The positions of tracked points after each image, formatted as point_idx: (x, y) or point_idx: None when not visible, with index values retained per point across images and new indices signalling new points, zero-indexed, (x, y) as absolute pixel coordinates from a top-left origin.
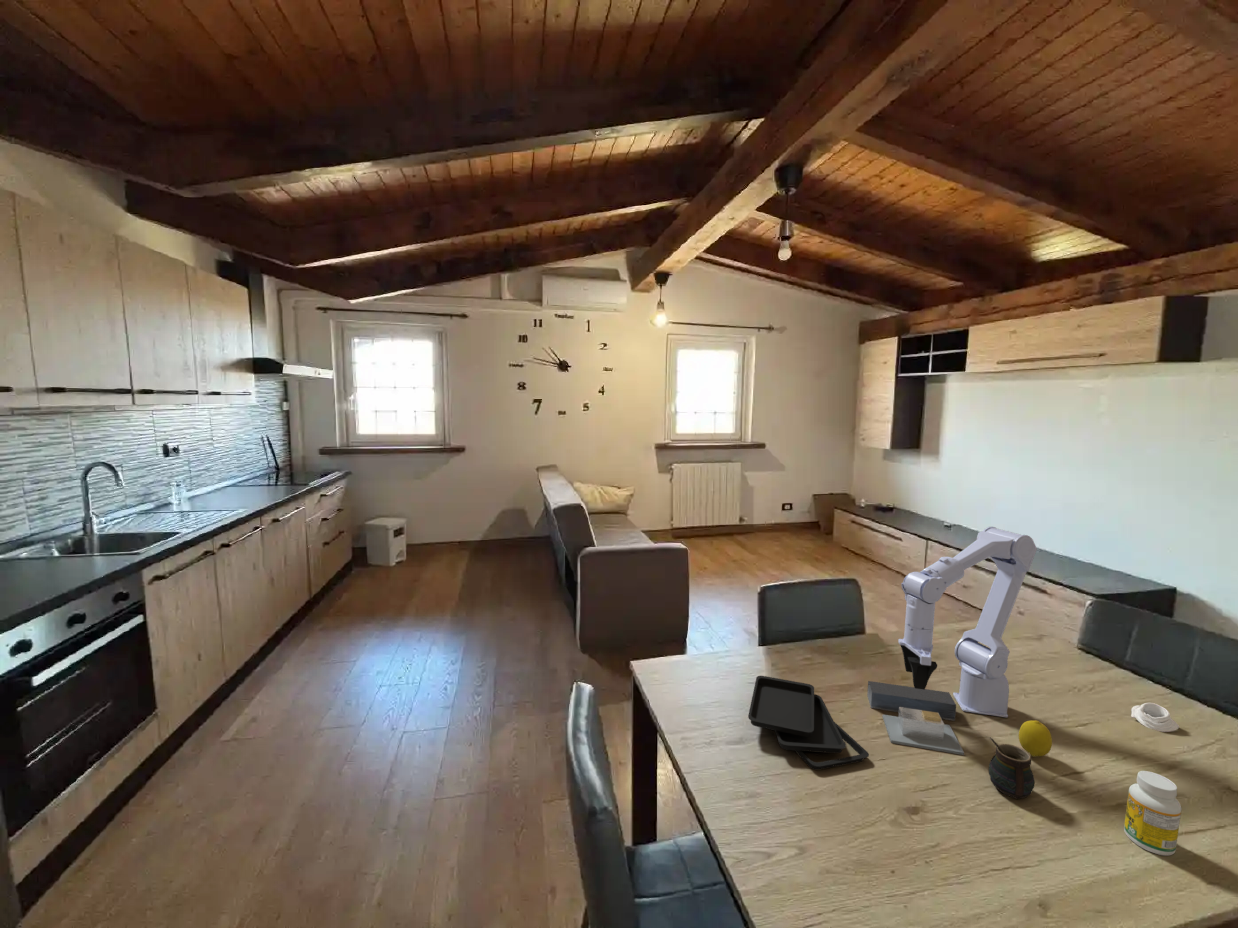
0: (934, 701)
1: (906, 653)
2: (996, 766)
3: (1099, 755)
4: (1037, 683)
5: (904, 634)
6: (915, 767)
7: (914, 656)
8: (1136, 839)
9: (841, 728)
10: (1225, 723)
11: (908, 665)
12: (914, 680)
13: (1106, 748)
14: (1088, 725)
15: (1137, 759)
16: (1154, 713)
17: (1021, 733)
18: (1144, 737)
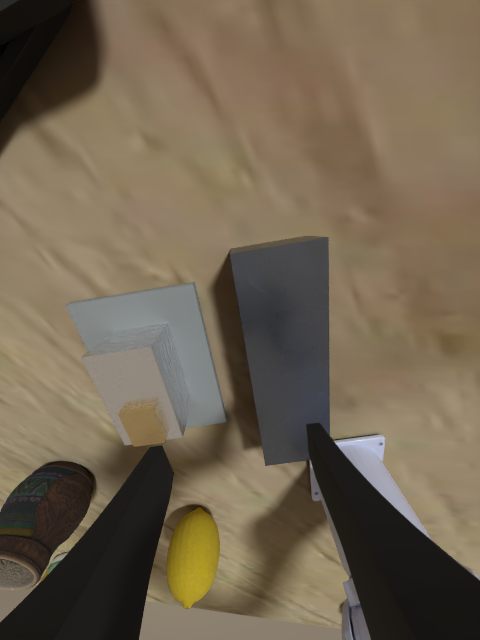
0: (261, 427)
1: (361, 548)
2: (7, 511)
3: (249, 558)
4: (457, 537)
5: None
6: (6, 350)
7: (351, 555)
8: (52, 564)
9: None
10: None
11: (320, 461)
12: (120, 488)
13: (273, 565)
14: (330, 562)
15: (260, 580)
16: None
17: (182, 548)
18: (321, 592)
